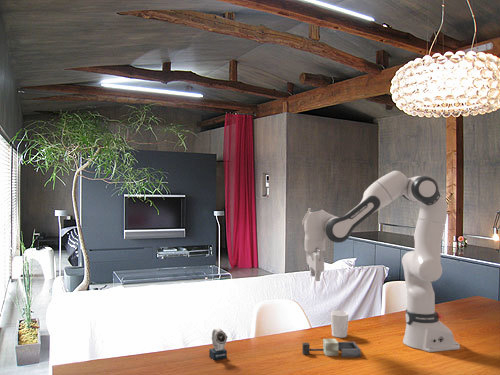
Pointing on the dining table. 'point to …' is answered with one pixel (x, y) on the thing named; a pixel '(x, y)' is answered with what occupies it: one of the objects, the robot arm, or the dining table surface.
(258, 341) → the dining table surface
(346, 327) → the white cup
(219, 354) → the watch
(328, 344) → the hammer
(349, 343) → the dark grey tray
